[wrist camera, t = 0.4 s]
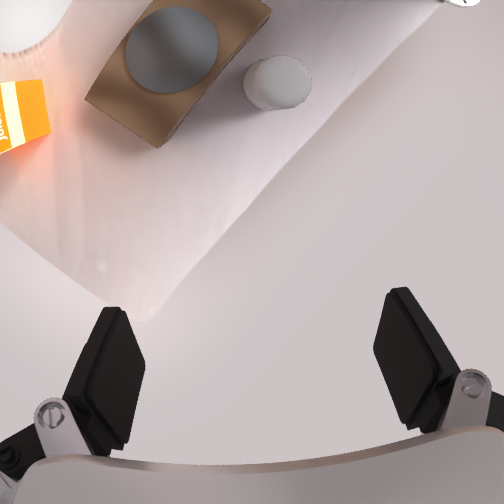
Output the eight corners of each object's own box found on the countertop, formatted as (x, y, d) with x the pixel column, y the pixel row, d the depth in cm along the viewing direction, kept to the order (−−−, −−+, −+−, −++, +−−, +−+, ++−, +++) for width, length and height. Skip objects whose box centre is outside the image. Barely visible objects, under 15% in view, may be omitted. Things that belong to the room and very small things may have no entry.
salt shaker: (290, 57, 30) (319, 41, 18) (298, 105, 32) (330, 115, 21) (238, 64, 30) (237, 49, 19) (246, 112, 33) (251, 125, 21)
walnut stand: (197, -25, 24) (190, -42, 19) (267, 20, 27) (273, 8, 23) (102, 96, 30) (81, 100, 26) (168, 140, 34) (156, 150, 29)
